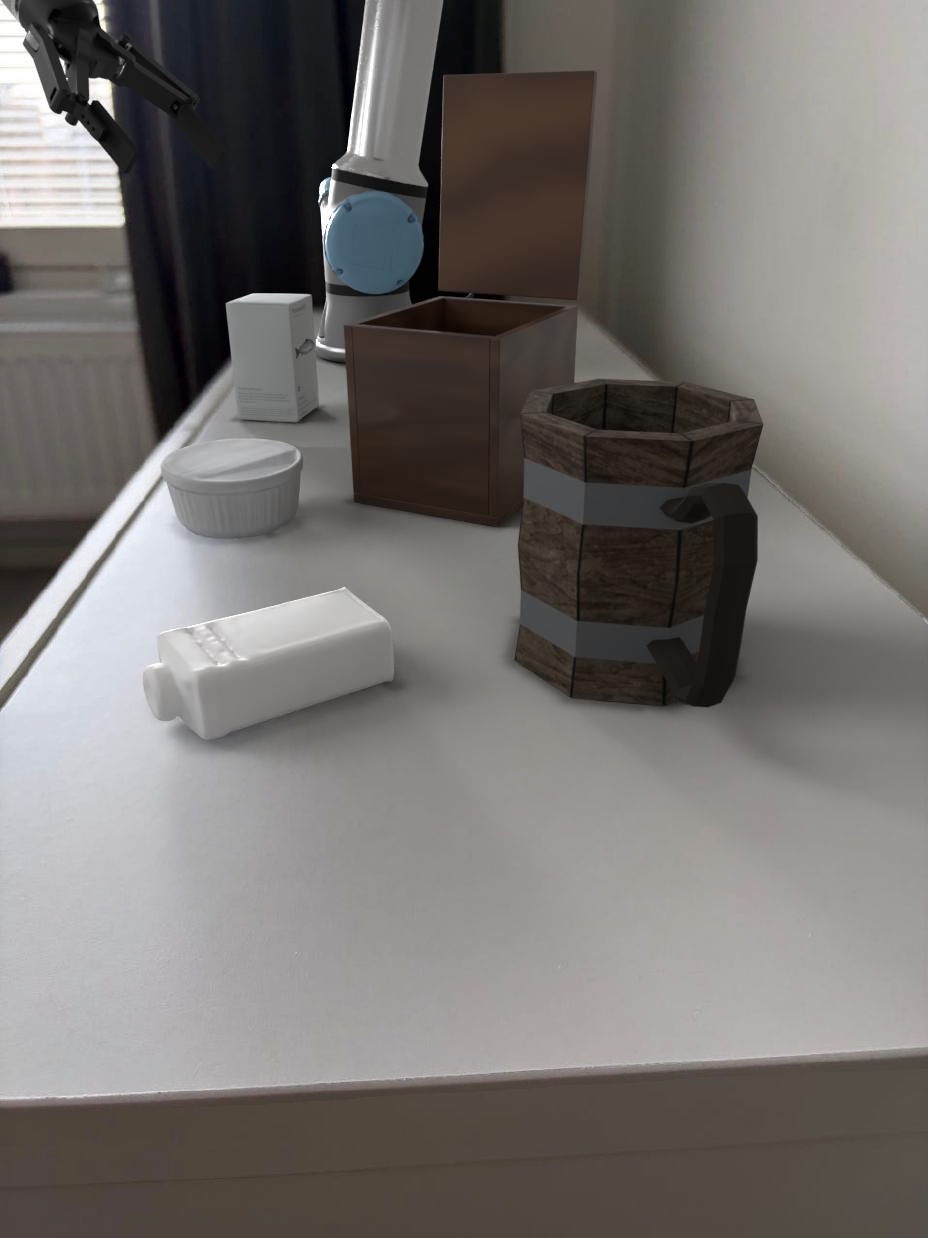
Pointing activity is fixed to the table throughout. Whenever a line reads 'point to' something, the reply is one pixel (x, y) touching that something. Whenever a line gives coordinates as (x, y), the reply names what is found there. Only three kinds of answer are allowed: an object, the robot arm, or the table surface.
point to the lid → (515, 182)
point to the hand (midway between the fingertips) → (178, 161)
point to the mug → (636, 539)
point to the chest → (450, 401)
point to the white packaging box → (273, 356)
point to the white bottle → (268, 662)
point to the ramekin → (234, 486)
